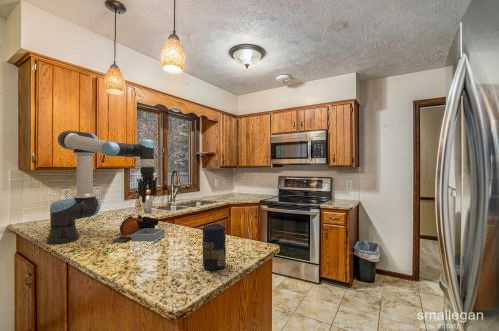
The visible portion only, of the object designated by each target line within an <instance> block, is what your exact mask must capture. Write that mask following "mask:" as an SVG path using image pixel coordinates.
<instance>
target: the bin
mask: <svg viewBox="0 0 499 331" xmlns="http://www.w3.org/2000/svg"><path fill="white" fill-rule="evenodd" d="M165 232H166V230H165V228H155V229H142V230H140V231H138V232H135V233H132V234H130V235H131V236H130V237H131V240H130V241H132V242H151V245H155V244H156V243H158V242H159V241H161V240H162V239H165V238H166V236H165V235H166V233H165Z"/></svg>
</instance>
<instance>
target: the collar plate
mask: <svg viewBox="0 0 499 331" xmlns="http://www.w3.org/2000/svg"><path fill="white" fill-rule="evenodd" d="M130 241H131V236H123V235H122V236H119V237H116V238H114V239H112V240H111V241H108V242H107V243H108V244H111V243H113V244H126V243H128V242H130Z"/></svg>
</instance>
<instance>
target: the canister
mask: <svg viewBox="0 0 499 331" xmlns="http://www.w3.org/2000/svg"><path fill="white" fill-rule="evenodd" d="M226 232H227V231H226V227H225V225H224V224H220V223H210V224H207V225H204V226H203V227H202V265H203V268H205V269H206V270H210V271H212V270H213V271H217V270H220V269H222V268H224V267H225V266H226V264H227V262H226V261H227V260H226V252H227V250H226V248H227V247H226V246H227V245H226V242H227V241H226V237H227V236H226Z"/></svg>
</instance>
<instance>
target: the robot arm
mask: <svg viewBox="0 0 499 331" xmlns="http://www.w3.org/2000/svg"><path fill="white" fill-rule="evenodd" d="M57 143H58V145H59V146H60V147H61V148H62V149H65V150H69V151H73V154H74V155H75V156H76V195H75V196H74V197H73V198H65V199H60V200H59V199H58V200H57V201H53V202H51V204H50V207H49V208H50V209H49V212H50V214H49V215H50V217H49V220H50V224H49V225H50V230H49V231H48V236H47V237H46V244H48V245H61V244H66V243H71V242H75V241H77V240H79V239H80V233H79V232H78V229H77V226H76V221H77V220H81V219H85V218H91V217H94V216H96V215H97V214H98V213H99V211H100V209H101V201H100V199H98V198H97V196H96V194H94V162H93V161H94V160H93V159H94V158H93V157H94V156H95V155H96V153H97V154H103V155H104V156H107V157H123V158H139V166H140V168H139V172H140V177H139V178H136V182H137V190H138V192H137V194H138V196H139V197H141V203H142V209H144V208H147V197H146V191H147V190H151V193H150V197H151V208H153V207H154V201H155V198H154V197H155V196H156V194H157V182H158V177H156V176H155V175H154V174H155V167H154V166H155V145H154V144H155V143H154V140H152V139H140V140H139V143H126V142H116V141H109V140H103V139H99V137H98V136H97V135H96V134H94V133H91V132H85V131H84V132H83V131H76V130H64V131H61V132H60V134H59V135H58V137H57Z"/></svg>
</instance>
